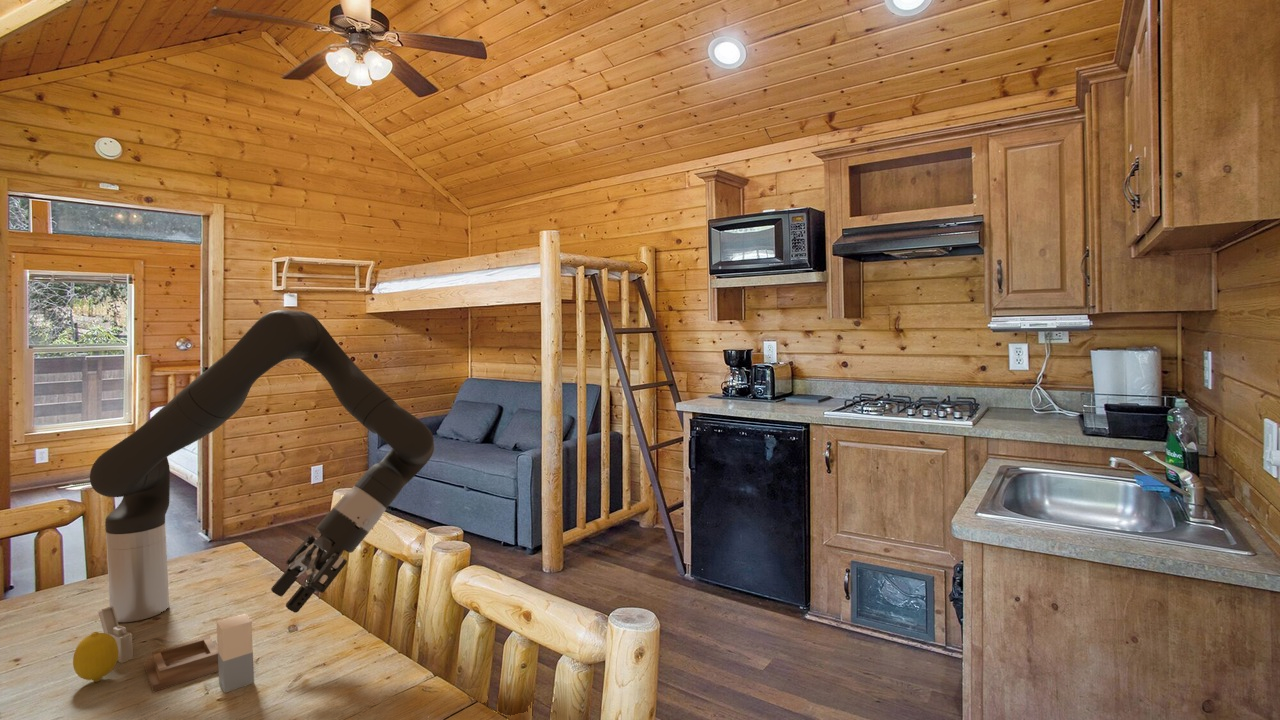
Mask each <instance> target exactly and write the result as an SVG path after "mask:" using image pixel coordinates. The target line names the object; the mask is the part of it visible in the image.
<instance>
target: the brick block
mask: <svg viewBox="0 0 1280 720" xmlns="http://www.w3.org/2000/svg"><path fill="white" fill-rule="evenodd" d="M216 639H217V641H216V642H217V645H218V667H219V671H218V682H219V685H220V688H222V690H223V692H224V694H225V693H228V692H232V691H235V690H237V689H241V688H244V687H246V686H249V685H252V684H255V673H254V672H255V669H254V668H255V667H254V648H253V644H254V643H253V624H252V620H251V619H250V618H249V616H248V614H247V613H242V614H238V615H234V616H229V617H227V618H224V619H219V620H216Z"/></svg>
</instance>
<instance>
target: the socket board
mask: <svg viewBox="0 0 1280 720" xmlns="http://www.w3.org/2000/svg"><path fill="white" fill-rule="evenodd" d="M151 654H152V658H150V659H146V660H145V661H144V662H143V663H144V669H145V672H146V676H147V678H148V681H149V684H150V687H151V689H152V693H154V692H157V691H159V690H160V691H161V690H162V689H166V688H169V687H172V686H177V685H179V684H182V683H185V682H188V681H192V680H195V679H198V678H201V677H204V676H207V675H210V674H213V673H216V672H219V667H218V645H217V641H216V640H212V638H211V637H210V636H205V637H201V638H197V639H194V640H192V641H188V642H184V643H180V644H178V645H174V646H170V647H167V648H163V649H160V650H156V651H153V652H151Z"/></svg>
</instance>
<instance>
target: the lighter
mask: <svg viewBox="0 0 1280 720" xmlns="http://www.w3.org/2000/svg"><path fill="white" fill-rule="evenodd" d="M97 612H98V616H99V619H100V623H101V628H102V631H103V633H106V634H109V635H111V636H112V637H113V638H114V639H115V641H116V643H117V646H118V651H119V655H118V660H117V662H118V661H119V662H118V663H121V664H123V663H125V662H127V661H130V660H133V659H134V651H133V650H134V648H133V633H131V632H128V631H127V628H126V627H125V626H123V625H119V622H118V621H117V617H116V614H115V610H114V607H113V606H111V607H110V606H109V607H106V608H103V609H101V610H99V611H97Z"/></svg>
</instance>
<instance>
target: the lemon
mask: <svg viewBox="0 0 1280 720" xmlns="http://www.w3.org/2000/svg"><path fill="white" fill-rule="evenodd" d="M118 655H119V651H118V646H117V643H116V641H115V639H114V638H113V637H112V636H111V635H109V634H106V633H104V632H98V631H94V632H92V633H90V634H89V635H88V636H85V637H84V638H83V639H82V640H81V641H80V642H79V643H78V644H77V646H76V648H75V650H74V653H73V659H72V666H73V667H72V668H73V669H74V672H75V674H76V675H77V676H78V677H79V678H81V679H84V680H87V681H93V682H97V683H98V682H99V681H101V680H102V679H103V677H105V676H107V675H108V674H109V673H111V671H113V669H114V668H115V666H116V665H117V663H118V661H117V660H118Z"/></svg>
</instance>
